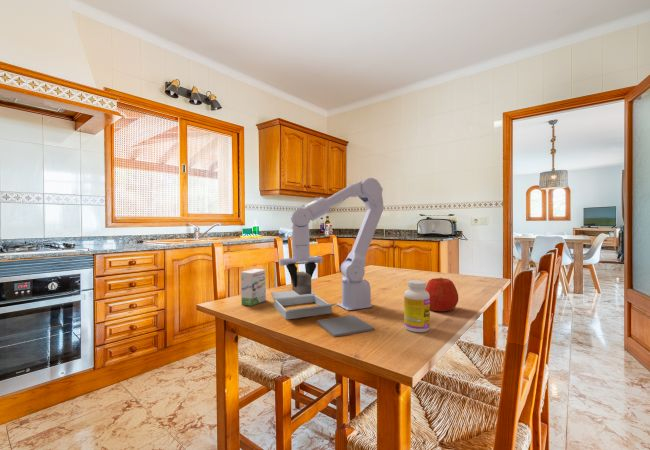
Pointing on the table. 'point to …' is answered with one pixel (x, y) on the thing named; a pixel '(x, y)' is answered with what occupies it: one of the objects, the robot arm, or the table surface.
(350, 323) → the mat
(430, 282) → the apple
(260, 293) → the ink box
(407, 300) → the supplement bottle
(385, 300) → the table surface
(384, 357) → the table surface
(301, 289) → the block
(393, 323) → the table surface
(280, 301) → the grey shallow open piece
